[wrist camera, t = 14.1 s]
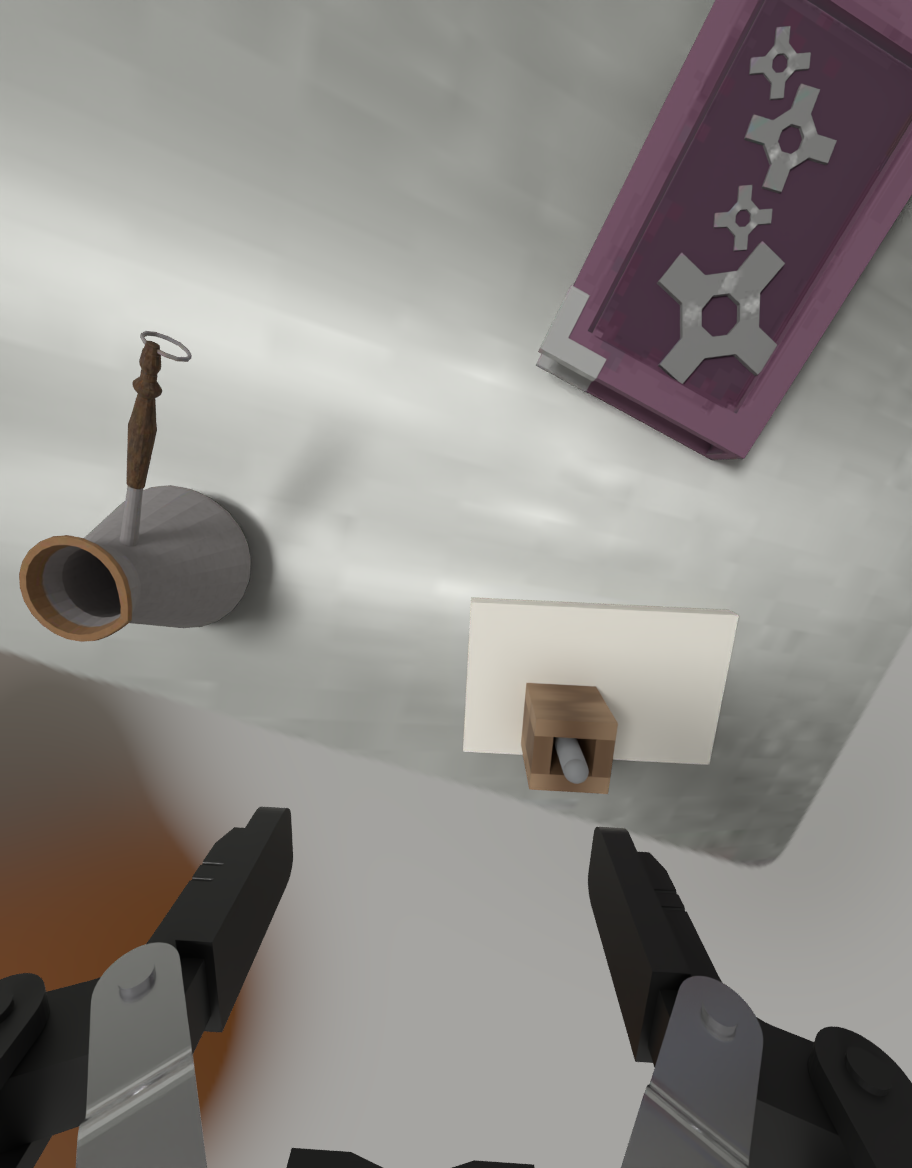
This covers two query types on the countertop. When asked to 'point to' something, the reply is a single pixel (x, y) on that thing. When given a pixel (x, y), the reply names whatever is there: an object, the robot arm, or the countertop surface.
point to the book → (744, 218)
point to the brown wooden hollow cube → (567, 735)
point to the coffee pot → (141, 548)
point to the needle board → (600, 674)
